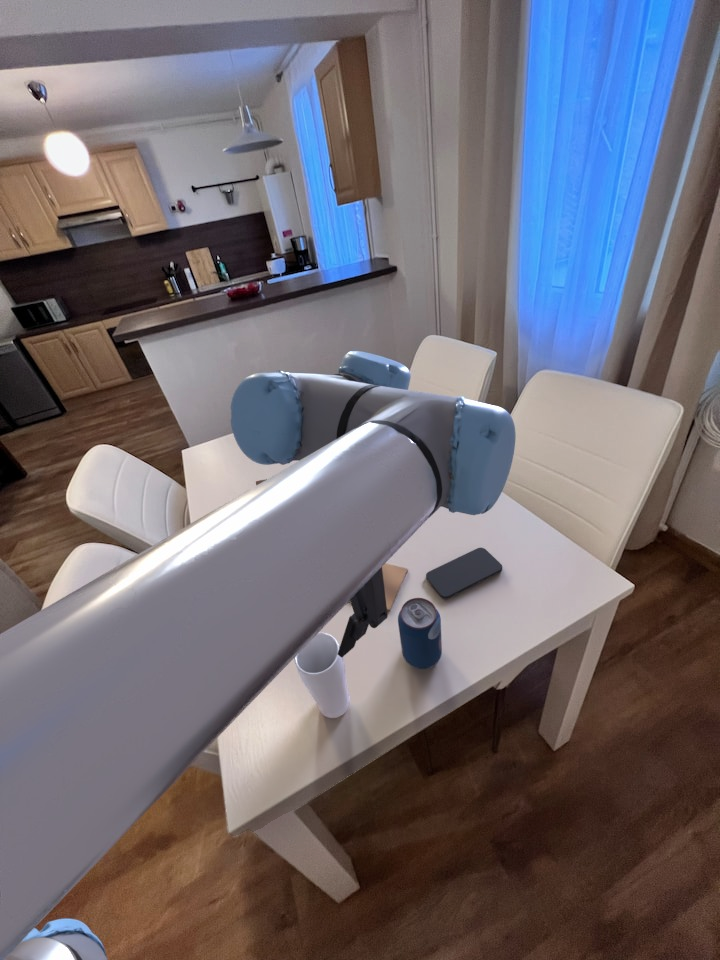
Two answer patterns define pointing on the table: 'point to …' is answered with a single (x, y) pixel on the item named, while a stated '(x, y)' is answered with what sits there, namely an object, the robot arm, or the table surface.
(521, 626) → the table surface
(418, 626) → the soda can
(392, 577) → the cork mat
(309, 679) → the drinking glass
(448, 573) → the phone
